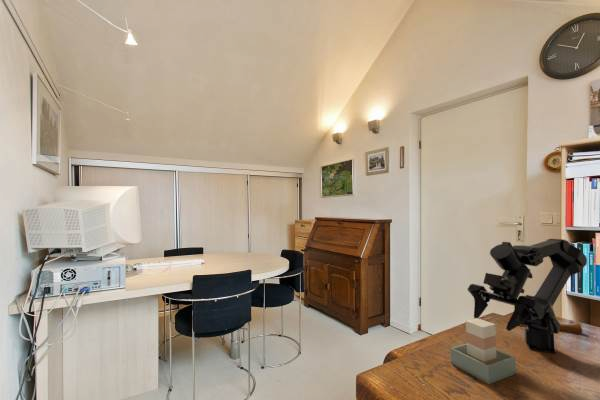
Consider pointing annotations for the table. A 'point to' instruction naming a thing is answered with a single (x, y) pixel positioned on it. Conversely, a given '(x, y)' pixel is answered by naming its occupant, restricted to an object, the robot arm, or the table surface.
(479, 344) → the tile stack
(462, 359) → the box
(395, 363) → the table surface
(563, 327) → the primitive tool
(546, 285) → the robot arm
